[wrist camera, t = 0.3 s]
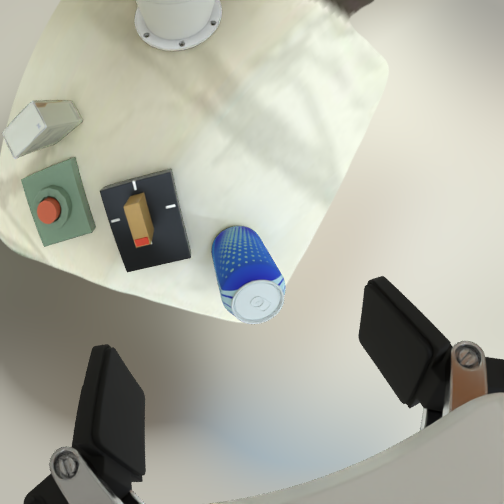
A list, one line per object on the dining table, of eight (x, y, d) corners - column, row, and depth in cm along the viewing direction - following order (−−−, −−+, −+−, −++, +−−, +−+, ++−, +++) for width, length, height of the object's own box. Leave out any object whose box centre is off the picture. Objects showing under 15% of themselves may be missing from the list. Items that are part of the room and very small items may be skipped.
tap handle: (130, 196, 38) (122, 207, 33) (144, 192, 38) (138, 203, 34) (140, 233, 41) (135, 248, 36) (154, 229, 41) (150, 245, 37)
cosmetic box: (72, 99, 31) (34, 97, 20) (84, 121, 33) (49, 125, 23) (42, 125, 31) (0, 133, 21) (53, 146, 33) (13, 160, 23)
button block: (27, 176, 34) (15, 182, 30) (75, 156, 35) (65, 161, 32) (48, 241, 40) (40, 251, 36) (95, 227, 41) (88, 237, 38)
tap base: (103, 186, 38) (99, 190, 36) (171, 168, 40) (170, 171, 38) (129, 264, 45) (126, 273, 43) (190, 250, 47) (191, 258, 44)
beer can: (216, 273, 50) (231, 336, 36) (205, 229, 46) (216, 284, 32) (263, 261, 51) (293, 319, 37) (255, 217, 47) (288, 266, 33)
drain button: (38, 201, 33) (33, 204, 32) (56, 194, 34) (51, 197, 32) (46, 222, 35) (41, 226, 33) (63, 216, 35) (59, 220, 34)
